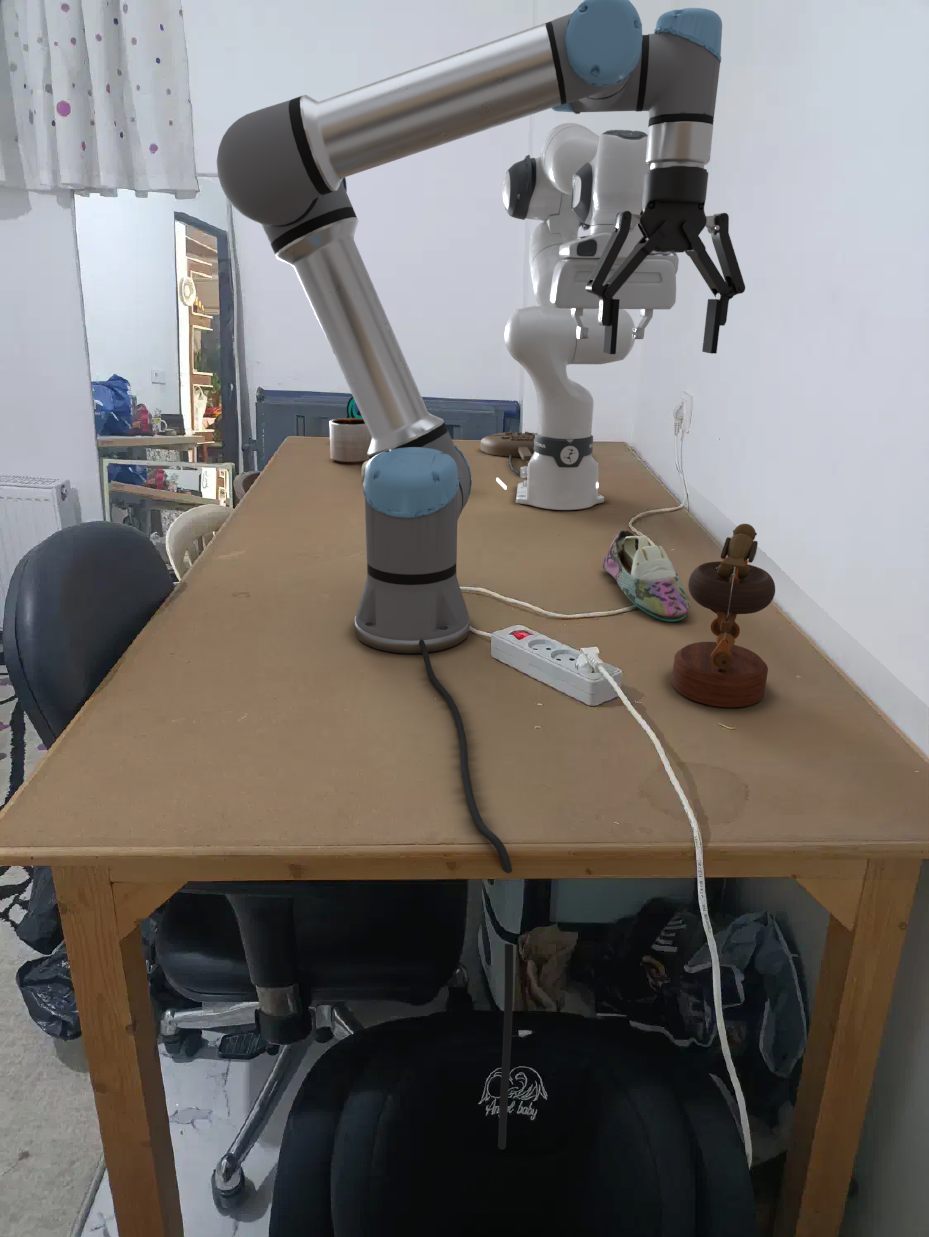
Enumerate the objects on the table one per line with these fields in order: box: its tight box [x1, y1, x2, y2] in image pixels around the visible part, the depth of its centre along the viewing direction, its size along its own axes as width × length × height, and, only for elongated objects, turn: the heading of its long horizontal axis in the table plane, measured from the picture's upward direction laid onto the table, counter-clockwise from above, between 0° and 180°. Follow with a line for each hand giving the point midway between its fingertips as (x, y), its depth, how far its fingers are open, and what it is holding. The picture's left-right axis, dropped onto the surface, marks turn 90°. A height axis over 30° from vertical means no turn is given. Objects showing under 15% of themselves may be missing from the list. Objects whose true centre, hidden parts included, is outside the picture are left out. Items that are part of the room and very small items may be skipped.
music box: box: [671, 523, 776, 708], centre depth 96 cm, size 15×11×20 cm
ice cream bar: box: [479, 431, 537, 462], centre depth 222 cm, size 21×28×4 cm
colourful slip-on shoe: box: [602, 529, 691, 623], centre depth 126 cm, size 8×24×9 cm, turn 9°
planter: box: [328, 417, 372, 464], centre depth 212 cm, size 11×11×10 cm
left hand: (659, 353), depth 109 cm, fingers open, 13 cm apart
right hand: (610, 339), depth 138 cm, fingers open, 8 cm apart
